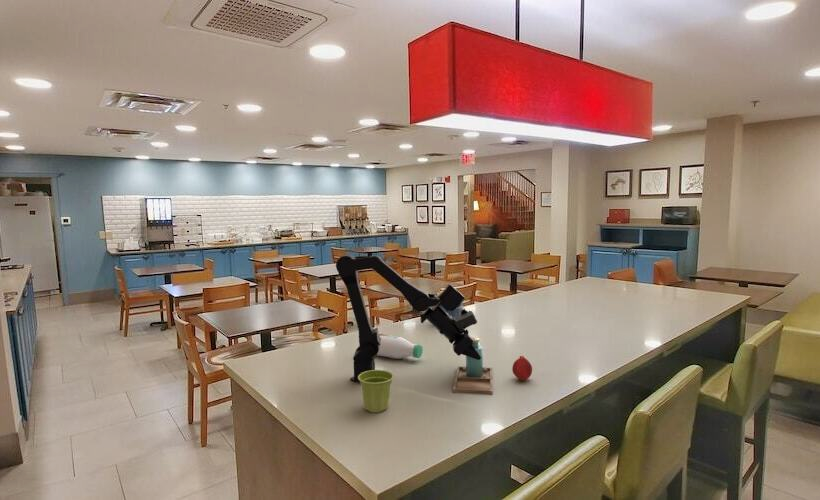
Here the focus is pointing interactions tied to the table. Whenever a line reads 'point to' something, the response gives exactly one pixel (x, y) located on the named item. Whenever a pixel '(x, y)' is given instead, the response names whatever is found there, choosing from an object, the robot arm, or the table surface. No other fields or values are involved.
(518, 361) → the onion
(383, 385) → the plant pot
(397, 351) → the milk bottle
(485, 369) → the double tray
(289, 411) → the table surface
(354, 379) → the robot arm
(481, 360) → the bottle
